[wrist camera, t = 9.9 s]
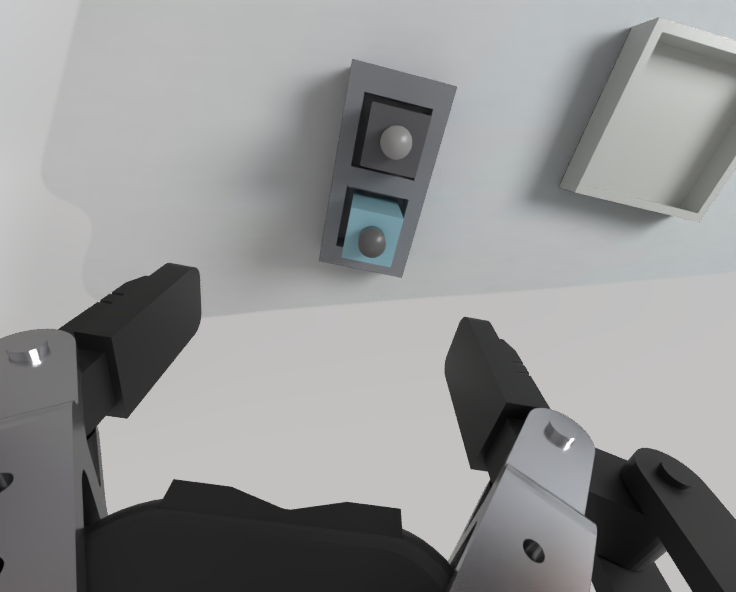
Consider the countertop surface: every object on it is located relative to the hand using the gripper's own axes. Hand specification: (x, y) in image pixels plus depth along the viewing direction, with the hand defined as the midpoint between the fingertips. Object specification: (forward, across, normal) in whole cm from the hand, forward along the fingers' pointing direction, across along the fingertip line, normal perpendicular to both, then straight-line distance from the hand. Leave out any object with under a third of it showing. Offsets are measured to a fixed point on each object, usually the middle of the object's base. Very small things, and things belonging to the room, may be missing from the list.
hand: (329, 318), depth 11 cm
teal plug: (+23, -2, +3) cm, 24 cm away
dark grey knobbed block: (+23, -2, -4) cm, 24 cm away
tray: (+25, -25, -9) cm, 36 cm away
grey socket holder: (+24, -2, -1) cm, 24 cm away
